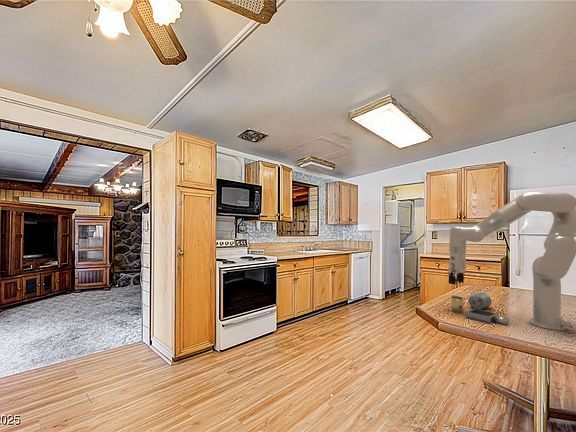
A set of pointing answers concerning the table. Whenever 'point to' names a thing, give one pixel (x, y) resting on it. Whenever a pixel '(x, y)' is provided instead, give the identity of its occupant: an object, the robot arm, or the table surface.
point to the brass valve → (457, 304)
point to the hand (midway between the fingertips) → (456, 283)
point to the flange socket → (486, 316)
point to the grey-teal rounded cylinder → (479, 300)
